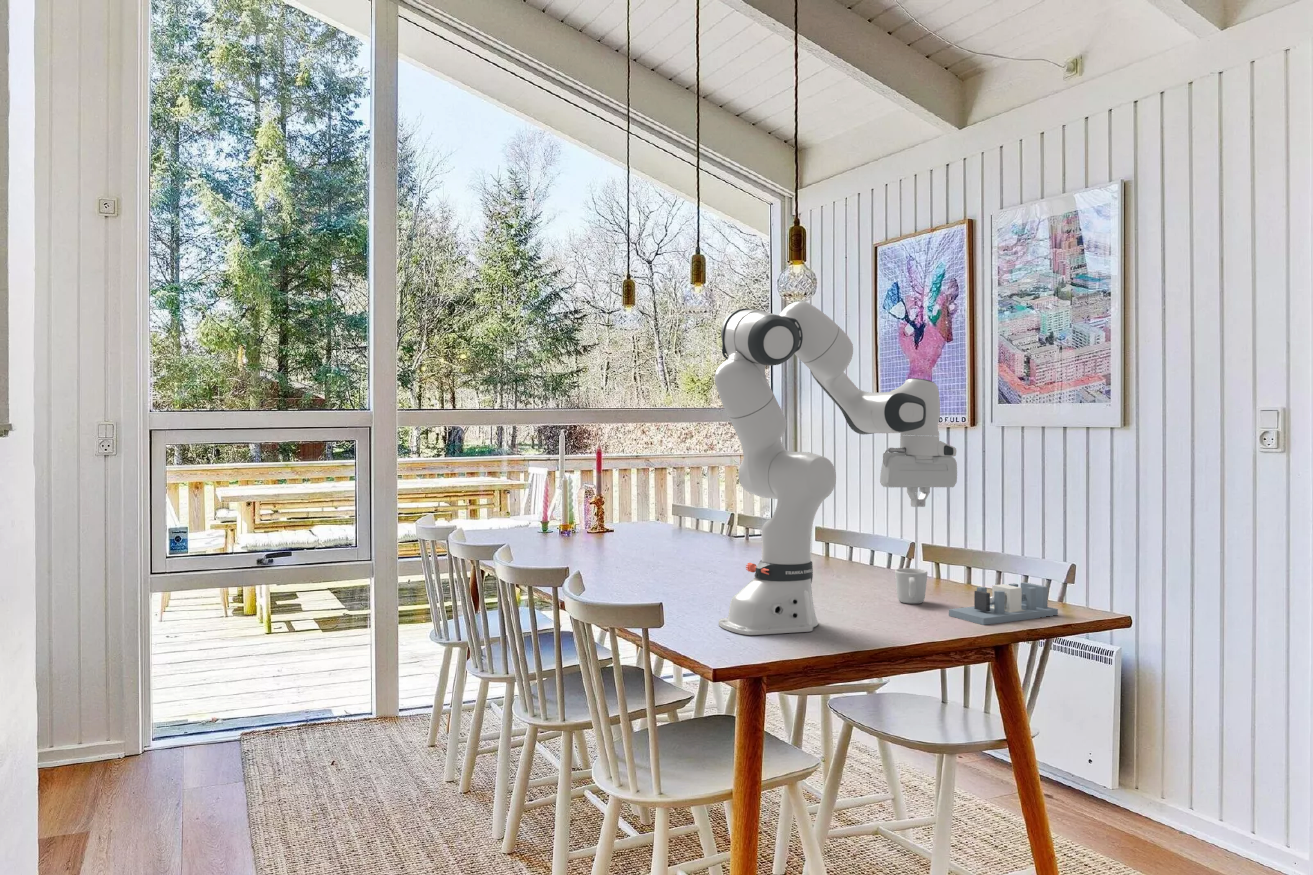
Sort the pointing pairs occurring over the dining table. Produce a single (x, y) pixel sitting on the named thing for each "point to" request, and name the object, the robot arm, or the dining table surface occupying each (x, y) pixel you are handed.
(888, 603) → the dining table surface
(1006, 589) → the bracket
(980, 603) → the shaft
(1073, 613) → the dining table surface
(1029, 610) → the block
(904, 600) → the cup
